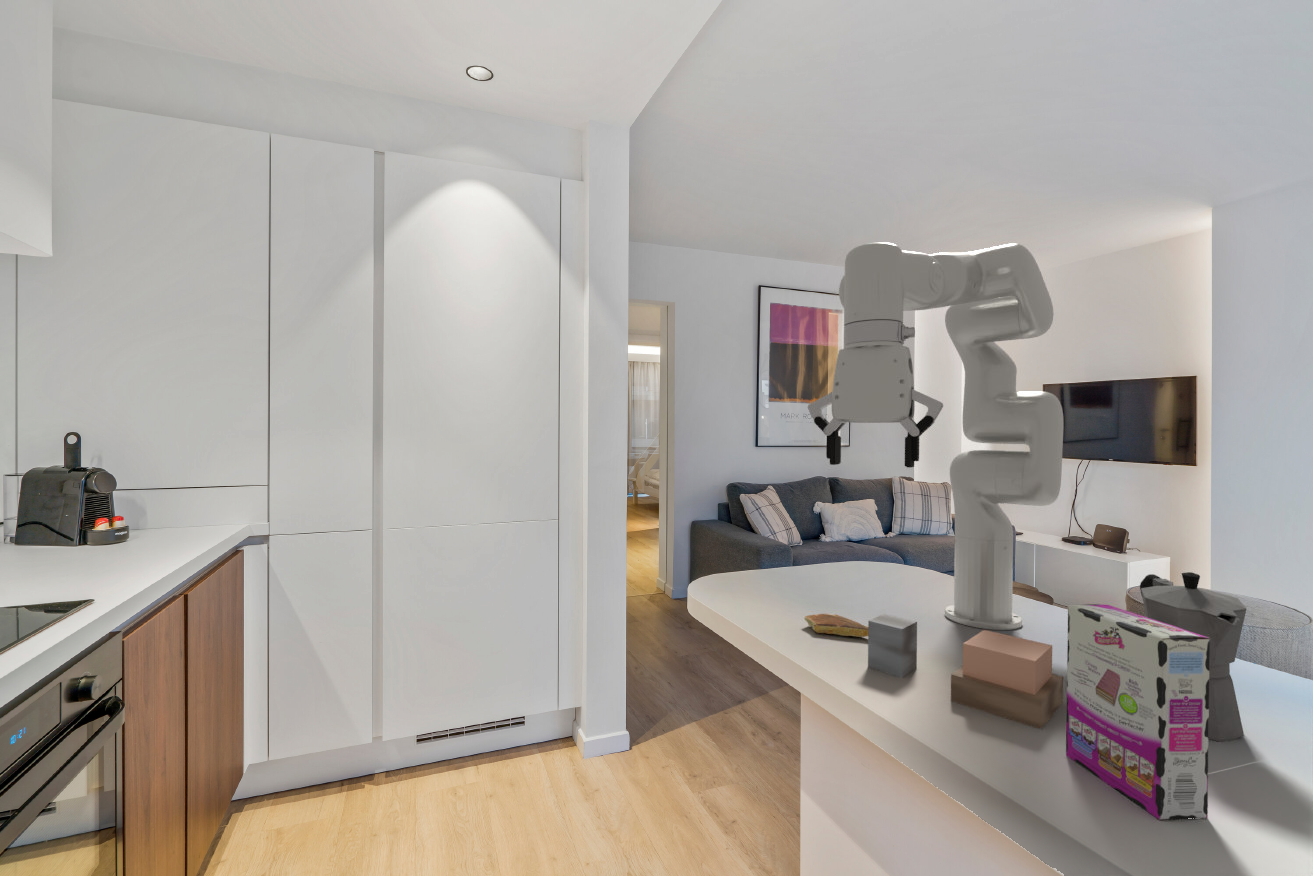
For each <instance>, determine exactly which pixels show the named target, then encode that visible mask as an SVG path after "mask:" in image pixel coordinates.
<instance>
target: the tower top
mask: <svg viewBox="0 0 1313 876" xmlns="http://www.w3.org/2000/svg"><path fill="white" fill-rule="evenodd" d="M962 652H963V653H962V666H963V675H966V676H970V677H973V678H977V679H980V680H984V681H988V682H991V683H995V684H998V685H1002V686H1005V687H1009V688H1012V689H1016V690H1019V691H1023V692H1026V693H1030V694H1034V695H1035V694H1036V693H1037V692H1038V691H1039V690H1040V689H1041V688H1042V687H1043V685H1044V684H1045V683H1046V682H1047V681H1048V680H1049V679H1050V678H1051V677H1052V674H1053V644H1049V643H1044V642H1039V641H1036V640H1035V641H1034V640H1031V639H1026V638H1023V637H1017V636H1014V635H1009V634H1003V633H1000V632H995V631H992V630H988V629H983V630H981V631H980V632H978V633H977V634H975V635H974V636H972V637H970V638H969V639H968V640H966V641H964V642H963V643H962Z"/></svg>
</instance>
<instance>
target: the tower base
mask: <svg viewBox="0 0 1313 876" xmlns="http://www.w3.org/2000/svg"><path fill="white" fill-rule="evenodd" d="M950 701H951V702H952V703H953V702H954V703H957V704H960V705H962V706H966V707H969V708H972V709H976V710H979V711H982V712H985V713H988V714H992V715H994V716H997V717H1001V718H1005V719H1007V720H1011V721H1014V722H1017V723H1021V724H1023V725H1026V726H1029V727H1033V728H1035V729H1039V730H1042V729H1043V728H1044V727H1045V726H1046V724H1047V723H1048V722H1049V720H1051V718H1052V717H1053V716H1054V714H1055V713H1056V711H1057V710H1058V709H1059V708H1060V706H1061V705H1063V703H1064V676H1062V675H1058V674H1054V673H1052V677H1051V678H1050V679H1049V680H1048V681H1047V682H1046V683H1045V684H1044V685H1043V687H1042V688H1041V689H1040V690H1039V691H1038V692H1037V693H1036V694H1035V695H1034V694H1030V693H1026V692H1023V691H1019V690H1016V689H1012V688H1009V687H1005V686H1002V685H998V684H995V683H991V682H988V681H984V680H980V679H977V678H973V677H970V676H966V675H963V665H962V666H960V667H959V668H958V669H957V670H955V671H953V673H951V674H950Z"/></svg>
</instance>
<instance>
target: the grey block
mask: <svg viewBox="0 0 1313 876" xmlns="http://www.w3.org/2000/svg"><path fill="white" fill-rule="evenodd" d="M867 622H868V625H867V627H868V636H867V642H868V644H867V648H868V649H867V668H869V669H873V670H876V671H878V672H879V671H880V672H882V673H884V674H888V675H892V676H895V677H898V678H901V679H902V678H903V677H905V676H907V675H908V674H910V673H911V672H913V671H914V670H916V669H917V667H918V666H917V665H918V662H917V661H918V660H917V659H918V621H917V620H911V619H908V618H904V617H903V618H902V617H899V616H894V615H891V614H886V613H882V614H880V615H878V616H876V617H874V618H871V619H869V620H868V621H867Z"/></svg>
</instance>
